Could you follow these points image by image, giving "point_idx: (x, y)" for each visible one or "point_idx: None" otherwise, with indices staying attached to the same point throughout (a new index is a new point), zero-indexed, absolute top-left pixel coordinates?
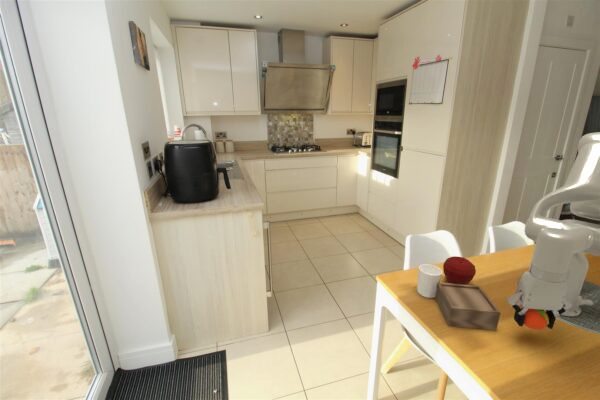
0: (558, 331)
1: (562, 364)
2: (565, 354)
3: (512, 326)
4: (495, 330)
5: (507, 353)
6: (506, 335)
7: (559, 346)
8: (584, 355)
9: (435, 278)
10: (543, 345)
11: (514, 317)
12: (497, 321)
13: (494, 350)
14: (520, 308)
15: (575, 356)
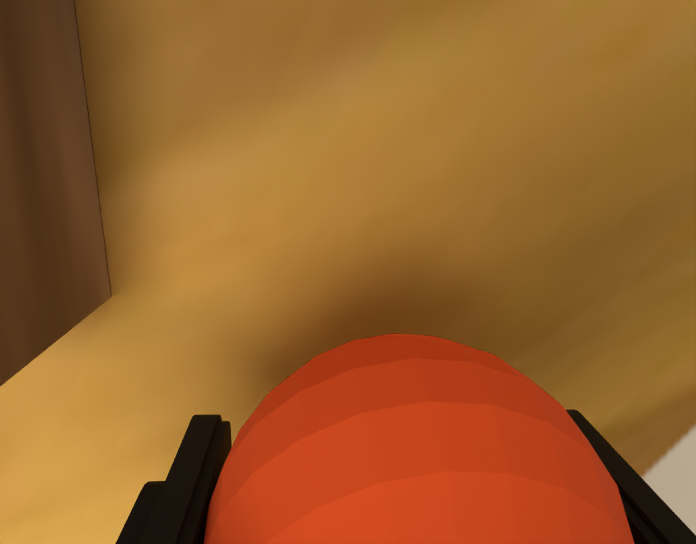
0: (676, 217)
1: None
2: None
3: (307, 207)
4: (103, 298)
5: (108, 520)
6: (187, 339)
7: (540, 386)
8: (635, 436)
9: None
10: None
11: (139, 509)
12: (40, 344)
13: (15, 514)
14: (237, 524)
15: None
